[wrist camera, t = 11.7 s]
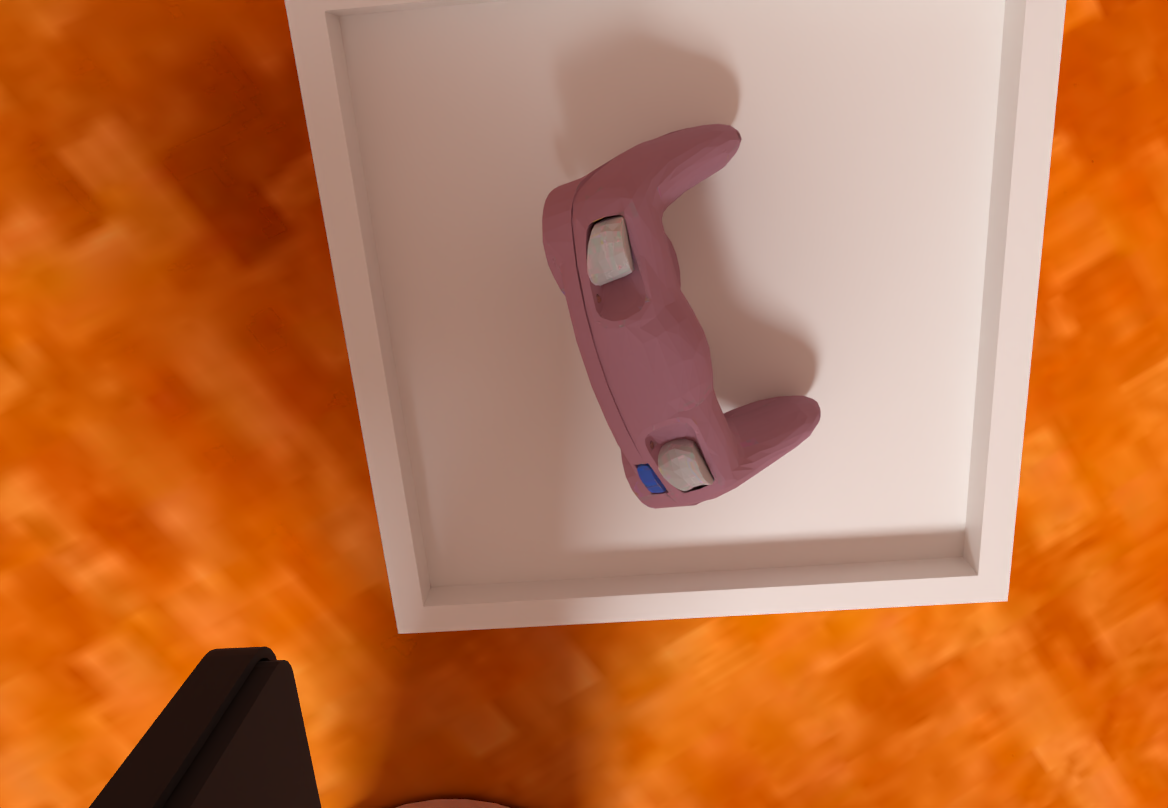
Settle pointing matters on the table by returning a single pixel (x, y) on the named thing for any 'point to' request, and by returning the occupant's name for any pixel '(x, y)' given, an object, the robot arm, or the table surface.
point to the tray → (688, 292)
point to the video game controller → (657, 326)
